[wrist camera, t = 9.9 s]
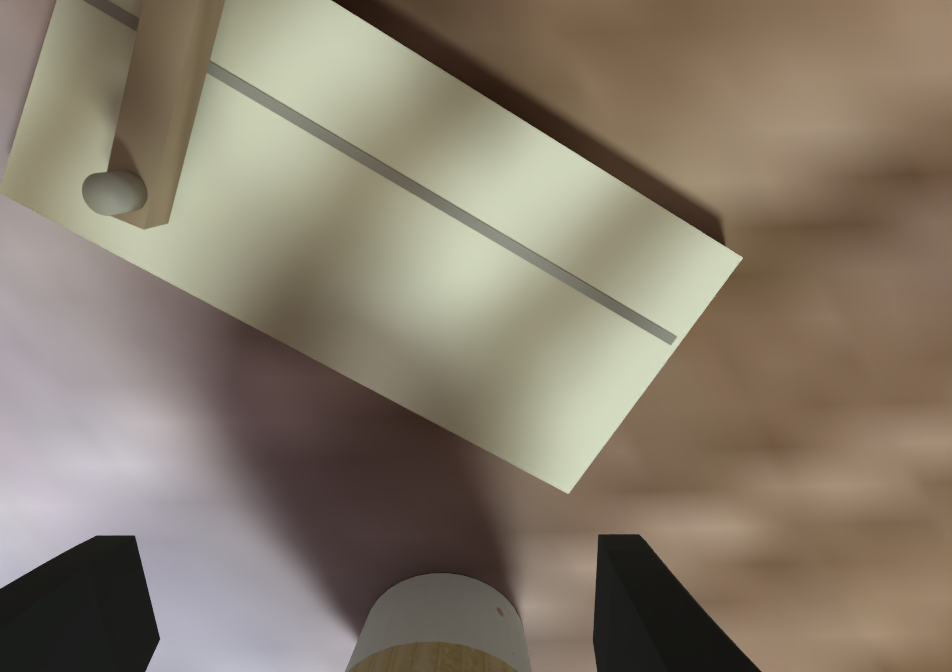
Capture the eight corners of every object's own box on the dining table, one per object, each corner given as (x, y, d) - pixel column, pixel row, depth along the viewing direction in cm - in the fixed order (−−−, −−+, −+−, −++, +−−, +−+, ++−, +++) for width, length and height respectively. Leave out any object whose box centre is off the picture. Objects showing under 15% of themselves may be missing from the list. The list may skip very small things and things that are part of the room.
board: (726, 250, 18) (743, 258, 17) (563, 474, 20) (568, 494, 19) (130, -123, 15) (99, -145, 14) (30, 188, 18) (-3, 192, 16)
